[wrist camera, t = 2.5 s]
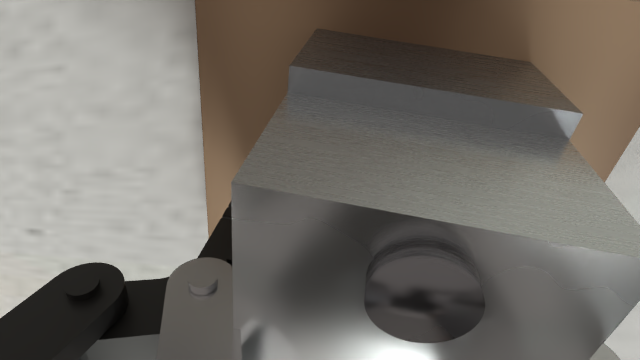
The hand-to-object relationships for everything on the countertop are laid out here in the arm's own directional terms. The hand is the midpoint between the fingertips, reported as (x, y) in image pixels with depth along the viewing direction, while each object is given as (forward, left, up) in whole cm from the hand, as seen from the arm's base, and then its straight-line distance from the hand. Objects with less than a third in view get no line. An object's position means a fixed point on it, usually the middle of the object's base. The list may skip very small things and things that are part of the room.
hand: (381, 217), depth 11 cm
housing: (0, 0, -1) cm, 1 cm away
